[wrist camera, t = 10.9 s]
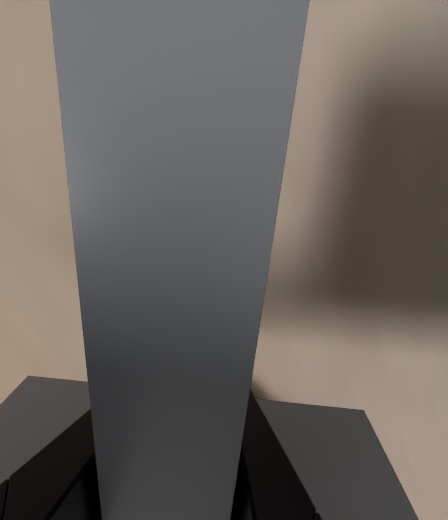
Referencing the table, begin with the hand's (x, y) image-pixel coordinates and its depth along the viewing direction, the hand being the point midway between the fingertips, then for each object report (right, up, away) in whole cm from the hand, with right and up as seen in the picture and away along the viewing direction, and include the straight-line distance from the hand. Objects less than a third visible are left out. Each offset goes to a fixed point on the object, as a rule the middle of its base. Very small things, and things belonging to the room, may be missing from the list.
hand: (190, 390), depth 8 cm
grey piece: (0, +3, +1) cm, 3 cm away
